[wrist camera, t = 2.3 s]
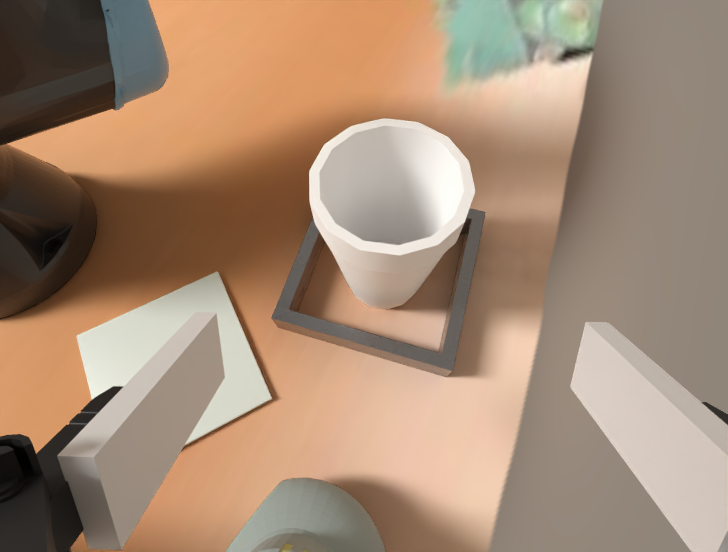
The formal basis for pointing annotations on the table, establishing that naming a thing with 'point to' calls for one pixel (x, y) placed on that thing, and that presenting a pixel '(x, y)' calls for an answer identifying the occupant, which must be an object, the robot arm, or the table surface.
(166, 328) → the pad
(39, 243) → the robot arm
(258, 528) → the air freshener
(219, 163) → the table surface
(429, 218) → the foam cup
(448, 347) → the grey square frame
